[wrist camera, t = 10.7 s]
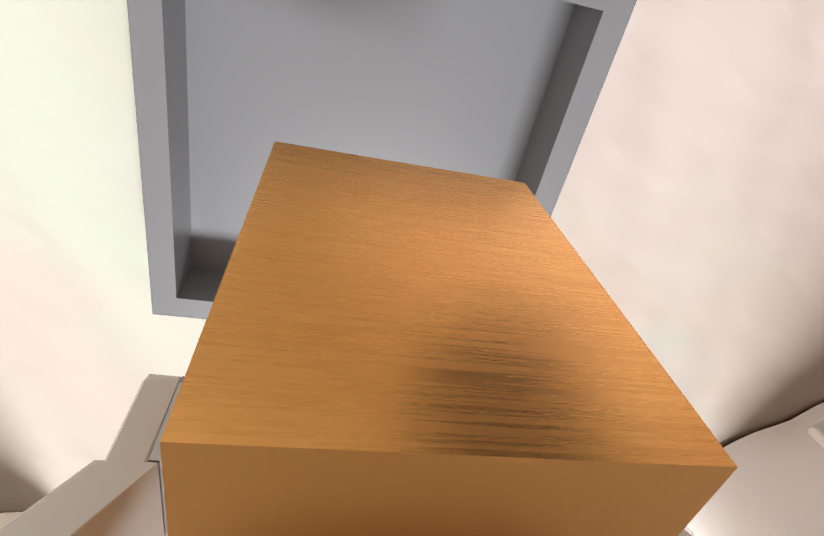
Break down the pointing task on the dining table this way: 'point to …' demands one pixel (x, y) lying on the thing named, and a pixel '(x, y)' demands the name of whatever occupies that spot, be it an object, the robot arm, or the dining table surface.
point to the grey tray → (348, 103)
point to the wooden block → (422, 372)
